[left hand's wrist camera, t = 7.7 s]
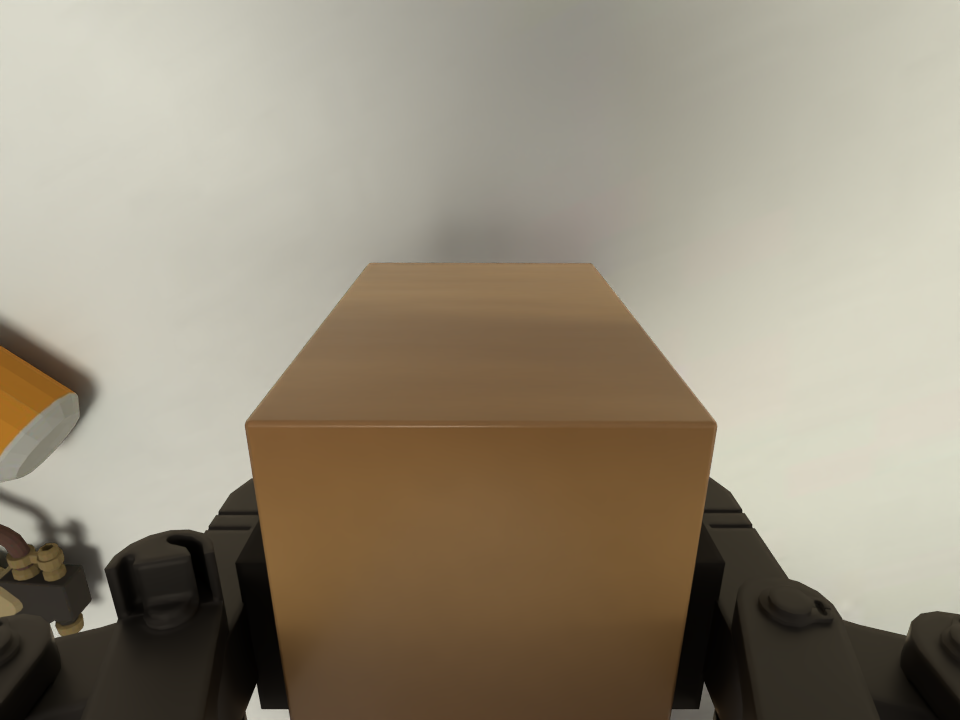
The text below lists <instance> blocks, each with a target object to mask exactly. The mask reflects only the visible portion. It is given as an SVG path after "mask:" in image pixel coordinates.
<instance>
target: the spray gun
mask: <svg viewBox="0 0 960 720" xmlns="http://www.w3.org/2000/svg"><path fill="white" fill-rule="evenodd" d="M79 417H80V411H79V401H78V396H77V394H76V393H75V392H73V391H72V390H70V389H69V388H67V387H65V386H64V385H62V384H61V383H59V382H57V381H56V380H54V379H53V378H51V377H49V376H48V375H46V374H45V373H43V372H42V371H40V370H38V369H37V368H35V367H34V366H32V365H30V364H29V363H27V362H26V361H24V360H22V359H21V358H19V357H18V356H16V355H15V354H13V353H11V352H10V351H8V350H7V349H5V348H3V347H2V346H0V482H5V481H9V480H14V479H18V478H21V477H24V476H25V475H27V474H29V473H31V472H32V471H33V470H34V469H36V468H37V467H38V466H39V465H40V464H41V463H42V462H44V461H45V460H46V459H47V458H48V457H49V456H50V455H51V454H52V453H53V452H54V451H55V450H56V448H57V447H58V446H59V445H60V444H61V443H62V442H63V440H64V439H65V438H66V437H67V436H68V434H69V433H70V432H71V430H72V429H73V428H74V426H75V425H76V423H77V421H78V419H79ZM0 545H1V546H3V547H5V549H6V550H7V551H8V552H9V553H8V554H7V556H6V559H7V562H8V565H9V566H8V567H7V568H6V569H4V568H2V567H0V617H4V616H11V615H18V614H30V615H36V616H41V617H42V618H43V619H44V620H46V621H47V622H48V623H49V624H50V623H51V622H53V621H54V620H55V621H56V625H55V626H56V628H57V630H58V632H59V634H60V635H61V636H66V635H70V634H75V633H78V632H79V631H80V630H81V629H82V628H83V626H84V621H83V614H82V613H81V612H82V611H83V610H84V609H85V607H86V606H87V605H88V604H89V603H90V601H91V595H90V592H89V588H88V585H87V581H86V578H85V574H84V570H83V567H82V566H79V565H67V564H62V563H63V561H64V555H63V551H62V549H61V548H60V547H58V544H56V543H47V544H45V545H43V546H42V547H41V548H39V550H38V551H37V552H36V551H35V548H34V546H33V545H30V544H27V543H26V542H25V541H24V539H23V538H22V537H21V535H20V534H18V533H16V532H15V531H13V530H12V529H10V528H9V527H6V526H3V525H1V524H0Z"/></svg>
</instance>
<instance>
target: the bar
mask: <svg viewBox="0 0 960 720" xmlns="http://www.w3.org/2000/svg"><path fill="white" fill-rule="evenodd" d="M245 430H246V436H247V443H248V449H249V455H250V462H251V468H252V475H253V481H254V488H255V494H256V501H257V507H258V514H259V520H260V527H261V533H262V539H263V546H264V552H265V559H266V565H267V572H268V578H269V585H270V591H271V598H272V604H273V611H274V617H275V624H276V630H277V636H278V643H279V649H280V656H281V662H282V669H283V675H284V682H285V688H286V695H287V701H288V708H289V714H290V720H670V717H671V710H672V704H673V698H674V692H675V686H676V679H677V673H678V667H679V661H680V655H681V648H682V642H683V636H684V630H685V624H686V617H687V611H688V605H689V599H690V593H691V586H692V580H693V574H694V568H695V561H696V555H697V549H698V543H699V537H700V530H701V524H702V518H703V512H704V506H705V499H706V493H707V487H708V481H709V475H710V468H711V462H712V456H713V450H714V443H715V437H716V431H717V423H716V421H715V420H714V419H713V418H712V416H711V415H710V414H709V412H708V411H707V410H706V409H705V407H704V406H703V405H702V403H701V402H700V401H699V400H698V398H697V397H696V396H695V395H694V393H693V392H692V391H691V389H690V388H689V387H688V386H687V384H686V383H685V382H684V380H683V379H682V378H681V377H680V375H679V374H678V373H677V372H676V370H675V369H674V368H673V366H672V365H671V364H670V363H669V361H668V360H667V359H666V357H665V356H664V355H663V354H662V352H661V351H660V350H659V349H658V347H657V346H656V345H655V343H654V342H653V341H652V340H651V338H650V337H649V336H648V335H647V333H646V332H645V331H644V329H643V328H642V327H641V326H640V324H639V323H638V322H637V320H636V319H635V318H634V317H633V315H632V314H631V313H630V312H629V310H628V309H627V308H626V306H625V305H624V304H623V303H622V301H621V300H620V299H619V297H618V296H617V295H616V294H615V292H614V291H613V290H612V289H611V287H610V286H609V285H608V283H607V282H606V281H605V280H604V278H603V277H602V276H601V274H600V273H599V272H598V271H597V269H596V268H595V267H594V266H593V264H591V263H369V264H368V265H367V266H366V268H365V269H364V270H363V272H362V273H361V274H360V275H359V277H358V278H357V279H356V281H355V282H354V283H353V284H352V286H351V287H350V288H349V290H348V291H347V292H346V293H345V295H344V296H343V297H342V299H341V300H340V301H339V302H338V304H337V305H336V306H335V308H334V309H333V310H332V311H331V313H330V314H329V315H328V317H327V318H326V319H325V320H324V322H323V323H322V324H321V326H320V327H319V328H318V329H317V331H316V332H315V333H314V335H313V336H312V337H311V338H310V340H309V341H308V342H307V344H306V345H305V346H304V347H303V349H302V350H301V351H300V353H299V354H298V355H297V356H296V358H295V359H294V360H293V361H292V363H291V364H290V365H289V367H288V368H287V369H286V370H285V372H284V373H283V374H282V376H281V377H280V378H279V379H278V381H277V382H276V383H275V385H274V386H273V387H272V388H271V390H270V391H269V392H268V394H267V395H266V396H265V397H264V399H263V400H262V401H261V403H260V404H259V405H258V406H257V408H256V409H255V410H254V412H253V413H252V414H251V415H250V417H249V418H248V419H247V421H246V423H245Z"/></svg>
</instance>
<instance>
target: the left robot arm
mask: <svg viewBox="0 0 960 720" xmlns="http://www.w3.org/2000/svg"><path fill="white" fill-rule="evenodd" d="M104 570H105V573H106V577H107V580H108V584H109V588H110V591H111V595H112V598H113V602H114V606H115V609H116V613H117V616H118V621H117V623H114V624H111V625H107V626H104V627H101V628H96V629H92V630H88V631H83V632H79V633H75V634H70V635H66V636H62V637H57V638H54V635H53V632H52V629H51V626H50V624H49V623H48V622H47V621H46V620H44V619H43V618H42V617H41V616H36V615H30V614H18V615H11V616H4V617H0V720H247V717H246V709H247V706H248V704H249V701H250V699H251V696H252V693H253V691H254V688H255V686H256V683H257V688H258V693H259V699H260V704H261V709H289V708H288V701H287V695H286V688H285V682H284V675H283V669H282V662H281V656H280V649H279V643H278V636H277V630H276V624H275V617H274V611H273V604H272V598H271V591H270V585H269V578H268V572H267V565H266V559H265V552H264V546H263V539H262V533H261V527H260V520H259V514H258V507H257V501H256V494H255V488H254V481H253V478H252V479H250V480H249V481H247V482H246V483H245V484H243V485H242V486H241V487H239V488H238V489H236V490H235V491H234V492H232V493H231V494H230V495H229V497H228V498H227V500H226V501H225V503H224V504H223V506H222V507H221V509H220V510H219V514H218V515H216V516H215V518H214V519H213V521H212V522H211V524H210V525H209V529H208V530H206V531H205V533H200V532H196V531H192V530H170V531H166V532H162V533H158V534H154V535H150V536H147V537H145V538H143V539H141V540H139V541H137V542H134V543H132V544H130V545H129V546H127V547H126V548H125V549H123V550H122V551H121V552H119V553H118V554H117V555H115V556H114V557H113V559H112V560H111V561H110V563H109V564H108V565H107V567H106V568H105V569H104ZM704 682H705V684H706V687H707V689H708V692H709V694H710V697H711V699H712V702H713V704H714V707H715V711H714V717H713V720H960V615H959V614H953V613H946V612H939V611H935V612H929V613H922V614H920V615H919V616H918V617H916V618H915V619H914V620H913V621H912V622H911V625H910V628H909V631H908V634H907V636H905V635H901V634H897V633H892V632H888V631H884V630H879V629H875V628H871V627H866V626H862V625H858V624H855V623H852V622H848V621H845V620H842V618H841V616H840V615H839V613H838V611H837V610H836V608H835V607H834V605H833V604H832V603H831V602H830V601H828V600H827V599H826V598H825V597H824V596H822V595H821V594H820V593H819V592H818V591H816V590H814V589H812V588H810V587H808V586H806V585H804V584H802V583H800V582H797V581H794V580H790V579H788V577H787V576H786V574H785V573H784V571H783V570H782V568H781V567H780V565H779V564H778V562H777V561H776V559H775V558H774V556H773V555H772V553H771V552H770V550H769V549H768V547H767V546H766V544H765V543H764V541H763V540H762V538H761V537H760V535H759V534H758V532H757V531H756V529H755V528H752V524H751V522H750V521H749V519H748V518H747V516H746V515H745V513H742V509H741V507H740V506H739V504H738V503H737V501H736V500H735V498H734V497H733V495H732V494H731V492H730V491H728V490H727V489H726V488H724V487H723V486H721V485H720V484H719V483H717V482H716V481H715V480H713V479H712V478H710V477H709V481H708V487H707V493H706V499H705V506H704V512H703V518H702V524H701V530H700V537H699V543H698V549H697V555H696V561H695V568H694V574H693V580H692V586H691V593H690V599H689V605H688V611H687V617H686V624H685V630H684V636H683V642H682V648H681V655H680V661H679V667H678V673H677V679H676V686H675V692H674V698H673V704H672V709H699V706H700V701H701V695H702V690H703V684H704Z"/></svg>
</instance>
